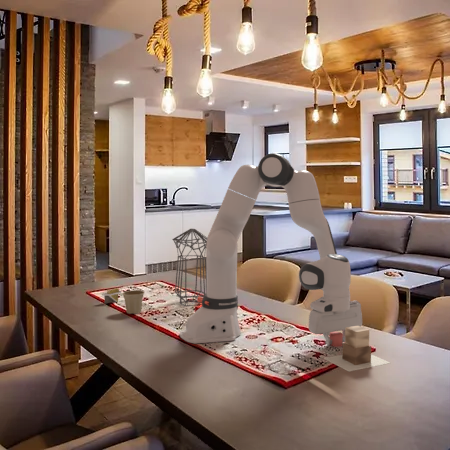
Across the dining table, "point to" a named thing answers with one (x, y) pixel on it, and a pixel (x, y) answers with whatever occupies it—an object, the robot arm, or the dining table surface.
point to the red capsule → (336, 338)
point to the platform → (111, 295)
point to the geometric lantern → (185, 263)
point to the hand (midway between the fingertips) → (335, 343)
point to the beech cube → (357, 336)
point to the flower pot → (133, 301)
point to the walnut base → (356, 354)
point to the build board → (351, 367)
